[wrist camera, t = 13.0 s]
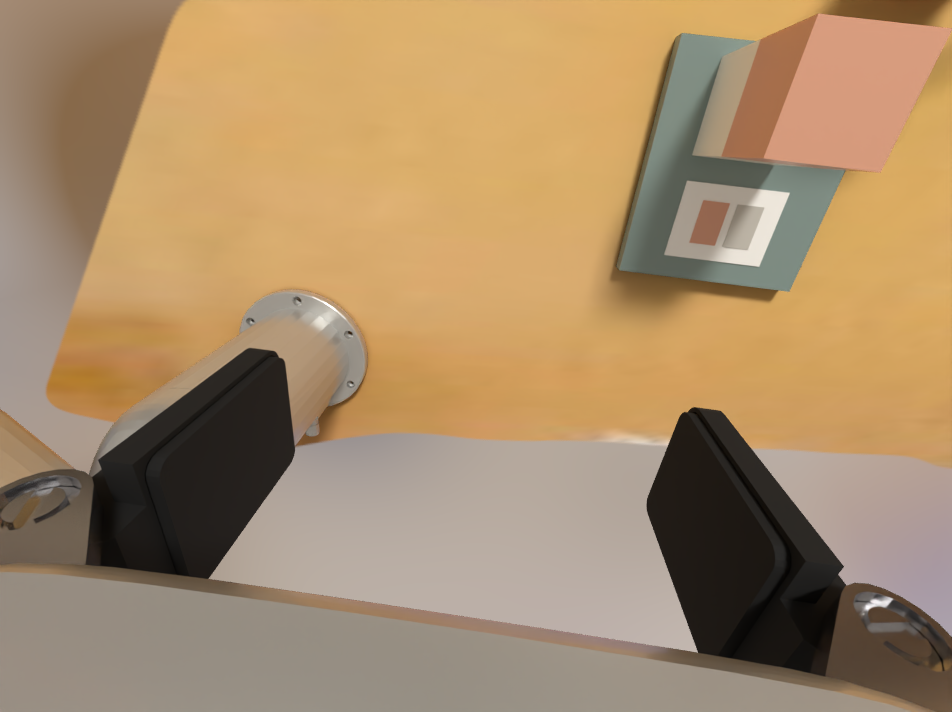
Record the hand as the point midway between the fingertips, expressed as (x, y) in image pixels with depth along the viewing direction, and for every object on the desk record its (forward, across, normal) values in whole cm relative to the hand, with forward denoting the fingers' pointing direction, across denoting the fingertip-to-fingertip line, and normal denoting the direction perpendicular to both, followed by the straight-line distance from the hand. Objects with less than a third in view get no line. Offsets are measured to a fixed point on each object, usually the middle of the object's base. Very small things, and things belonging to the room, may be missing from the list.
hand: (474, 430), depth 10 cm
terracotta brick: (+22, -16, -10) cm, 29 cm away
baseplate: (+28, -17, -6) cm, 34 cm away
